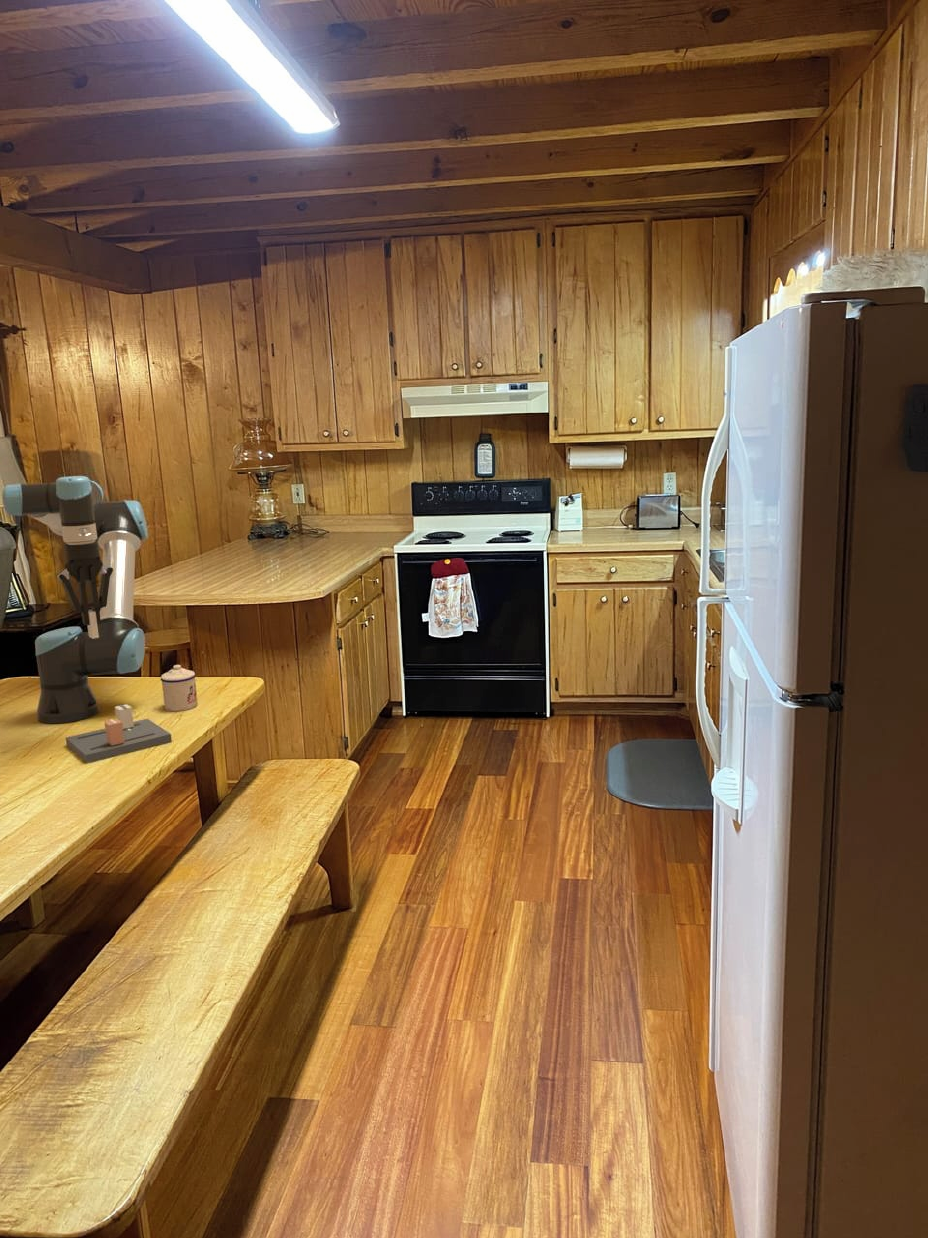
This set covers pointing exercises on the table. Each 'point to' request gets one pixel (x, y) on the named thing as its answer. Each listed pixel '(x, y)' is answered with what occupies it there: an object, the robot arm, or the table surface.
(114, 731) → the fader
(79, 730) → the table surface
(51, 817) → the table surface
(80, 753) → the mixer board
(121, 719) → the fader
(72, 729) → the table surface
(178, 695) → the teacup with lid
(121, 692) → the table surface
